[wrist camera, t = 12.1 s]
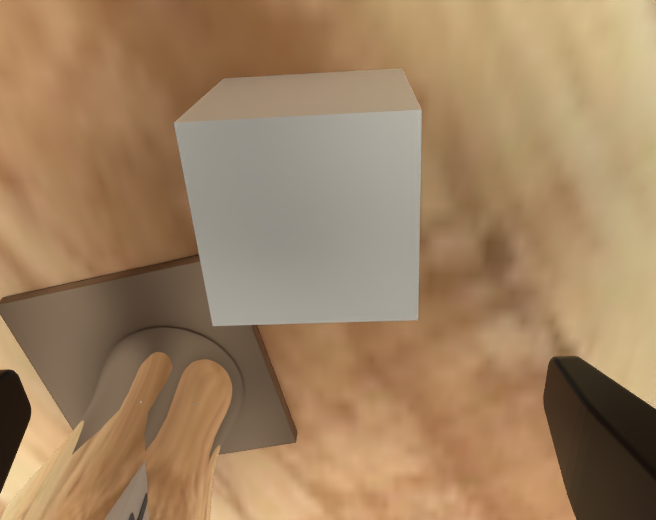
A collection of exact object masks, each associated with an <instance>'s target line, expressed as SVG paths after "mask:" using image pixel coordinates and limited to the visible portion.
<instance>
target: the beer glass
mask: <svg viewBox="0 0 656 520" xmlns="http://www.w3.org/2000/svg"><path fill="white" fill-rule="evenodd" d="M243 396H244V387H243V380H242V377H241V374H240V371H239V369H238V367H237V365H236V364H235V362H234V361H233V359H232V358H231V357H230V356H229V355H228V354H227V353H226V352H225V351H224V350H223V349H222V348H221V347H220V346H218V345H217V344H216V343H214V342H213V341H211V340H209V339H208V338H206V337H204V336H202V335H199V334H197V333H194V332H191V331H188V330H184V329H179V328H172V327H155V328H148V329H144V330H140V331H137V332H135V333H132V334H130V335H128V336H127V337H125V338H124V339H122V340H121V341H120V342H119V343H117V344H116V345H115V346H114V348H113V349H112V350H111V351H110V353H109V355H108V357H107V358H106V360H105V363H104V365H103V368H102V371H101V374H100V377H99V380H98V383H97V387H96V390H95V393H94V396H93V398H92V401H91V403H90V405H89V407H88V409H87V411H86V413H85V415H84V416H83V418H82V419H81V420H80V422H79V423H78V425H77V426H76V428H75V429H74V430H73V432H72V433H71V434H70V435H69V436H68V437H67V439H66V440H65V441H64V442H63V443H62V444H61V446H60V447H59V448H58V449H57V450H56V451H55V452H54V453H53V455H52V456H51V457H50V458H49V459H48V460H47V461H46V462H45V463H44V464H43V465H42V467H41V468H40V469H39V470H38V471H37V472H36V473H35V474H34V475H33V476H32V478H31V479H30V480H29V481H28V482H27V483H26V484H25V485H24V486H23V488H22V489H21V490H20V491H19V492H18V493H17V494H16V495H15V497H14V498H13V499H12V500H11V501H10V502H9V503H8V504H7V505H6V507H5V508H4V509H3V510H2V511H1V512H0V520H210V512H211V497H212V486H213V476H214V471H215V466H216V461H217V458H218V455H219V452H220V449H221V446H222V444H223V442H224V440H225V438H226V436H227V434H228V432H229V430H230V428H231V427H232V425H233V423H234V421H235V419H236V417H237V415H238V413H239V411H240V408H241V405H242V401H243Z"/></svg>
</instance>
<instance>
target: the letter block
mask: <svg viewBox="0 0 656 520" xmlns="http://www.w3.org/2000/svg"><path fill="white" fill-rule="evenodd" d="M174 127H175V133H176V138H177V143H178V148H179V153H180V159H181V164H182V169H183V174H184V179H185V185H186V190H187V195H188V200H189V205H190V211H191V216H192V221H193V226H194V231H195V237H196V242H197V247H198V252H199V257H200V263H201V268H202V273H203V278H204V283H205V289H206V294H207V299H208V304H209V309H210V315H211V320H212V325H213V326H235V325H269V324H303V323H337V322H371V321H405V320H418V304H419V245H420V186H421V127H422V109H421V107H420V105H419V103H418V101H417V98H416V96H415V94H414V92H413V90H412V88H411V86H410V84H409V82H408V80H407V77H406V75H405V73H404V71H403V69H402V68H395V69H378V70H361V71H343V72H326V73H309V74H291V75H274V76H257V77H239V78H223V79H222V80H221V81H220V82H219V83H218V84H217V85H215V86H214V87H213V88H212V89H211V90H210V91H209V92H208V93H206V94H205V95H204V96H203V97H202V98H201V99H200V100H199V101H197V102H196V103H195V104H194V105H193V106H192V107H191V108H190V109H189V110H187V111H186V112H185V113H184V114H183V115H182V116H181V117H180V118H178V119H177V120H176V121H175V122H174Z"/></svg>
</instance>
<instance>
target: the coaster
mask: <svg viewBox="0 0 656 520" xmlns="http://www.w3.org/2000/svg"><path fill="white" fill-rule="evenodd" d="M0 315H1V316H2V318H3V320H4V321H5V323H6V324H7V326H8V328H9V329H10V331H11V332H12V334H13V336H14V337H15V339H16V340H17V342H18V343H19V345H20V347H21V348H22V350H23V351H24V353H25V355H26V356H27V358H28V359H29V361H30V363H31V364H32V366H33V367H34V369H35V370H36V372H37V374H38V375H39V377H40V378H41V380H42V382H43V383H44V385H45V386H46V388H47V390H48V391H49V393H50V394H51V396H52V398H53V399H54V401H55V402H56V404H57V405H58V407H59V409H60V410H61V412H62V413H63V415H64V417H65V418H66V420H67V421H68V423H69V425H70V426H71V428H72V429H73V430H74V429H75V428H76V426H77V425H78V423H79V422H80V420H81V419H82V418H83V416H84V415H85V413H86V411H87V409H88V407H89V405H90V403H91V401H92V398H93V396H94V393H95V390H96V387H97V383H98V380H99V377H100V374H101V371H102V368H103V365H104V363H105V360H106V358H107V357H108V355H109V353H110V351H111V350H112V349H113V348H114V346H115V345H116V344H117V343H119V342H120V341H121V340H122V339H124V338H125V337H127V336H128V335H130V334H132V333H135V332H137V331H140V330H144V329H148V328H155V327H172V328H179V329H184V330H188V331H191V332H194V333H197V334H199V335H202V336H204V337H206V338H208V339H209V340H211V341H213V342H214V343H216V344H217V345H218V346H220V347H221V348H222V349H223V350H224V351H225V352H226V353H227V354H228V355H229V356H230V357H231V358H232V359H233V361H234V362H235V364H236V365H237V367H238V369H239V371H240V374H241V377H242V380H243V387H244V396H243V401H242V405H241V408H240V411H239V413H238V415H237V417H236V419H235V421H234V423H233V425H232V427H231V428H230V430H229V432H228V434H227V436H226V438H225V440H224V442H223V444H222V446H221V449H220V452H219V455H220V454H226V453H233V452H239V451H245V450H252V449H258V448H264V447H271V446H277V445H283V444H290V443H296V438H297V431H296V428H295V426H294V423H293V421H292V418H291V415H290V413H289V410H288V407H287V405H286V402H285V400H284V397H283V394H282V392H281V389H280V386H279V384H278V381H277V378H276V376H275V373H274V371H273V368H272V365H271V363H270V360H269V357H268V355H267V352H266V349H265V347H264V344H263V342H262V339H261V336H260V334H259V331H258V328H257V326H256V325H235V326H213V325H212V320H211V315H210V309H209V304H208V299H207V294H206V289H205V283H204V278H203V273H202V268H201V263H200V257H199V255H198V256H194V257H189V258H184V259H180V260H175V261H171V262H166V263H161V264H157V265H152V266H148V267H143V268H138V269H134V270H129V271H125V272H120V273H115V274H111V275H106V276H101V277H97V278H92V279H88V280H83V281H78V282H74V283H69V284H65V285H60V286H55V287H51V288H46V289H42V290H37V291H32V292H28V293H23V294H19V295H14V296H9V297H5V298H2V299H1V300H0Z"/></svg>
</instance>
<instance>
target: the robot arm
mask: <svg viewBox="0 0 656 520" xmlns="http://www.w3.org/2000/svg"><path fill="white" fill-rule="evenodd" d="M543 401H544V409H545V413H546V417H547V421H548V425H549V428H550V432H551V436H552V440H553V443H554V447H555V451H556V455H557V458H558V462H559V466H560V470H561V473H562V477H563V481H564V485H565V488H566V491H567V495H568V498H569V501H570V503H571V506H572V509H573V512H574V514H575V517H576V519H577V520H656V409H655V408H653V407H652V406H650V405H649V404H647V403H646V402H645V401H643V400H642V399H640V398H639V397H637V396H636V395H634V394H633V393H631V392H630V391H628V390H627V389H625V388H624V387H622V386H621V385H620V384H618V383H617V382H615V381H614V380H612V379H611V378H609V377H608V376H606V375H605V374H603V373H602V372H600V371H599V370H597V369H596V368H595V367H593V366H592V365H590V364H589V363H587V362H586V361H584V360H583V359H581V358H579V357H577V356H555V357H553V358H552V359H551V360H550V362H549V365H548V370H547V377H546V383H545V389H544V396H543ZM30 417H31V406H30V403H29V400H28V398H27V395H26V393H25V390H24V388H23V385H22V383H21V381H20V378H19V376H18V374H17V373H16V372H15V371H13V370H0V493H1V491H2V488H3V486H4V483H5V481H6V478H7V476H8V473H9V471H10V468H11V466H12V463H13V461H14V458H15V456H16V453H17V451H18V448H19V446H20V443H21V441H22V438H23V436H24V433H25V431H26V428H27V426H28V423H29V421H30Z"/></svg>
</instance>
